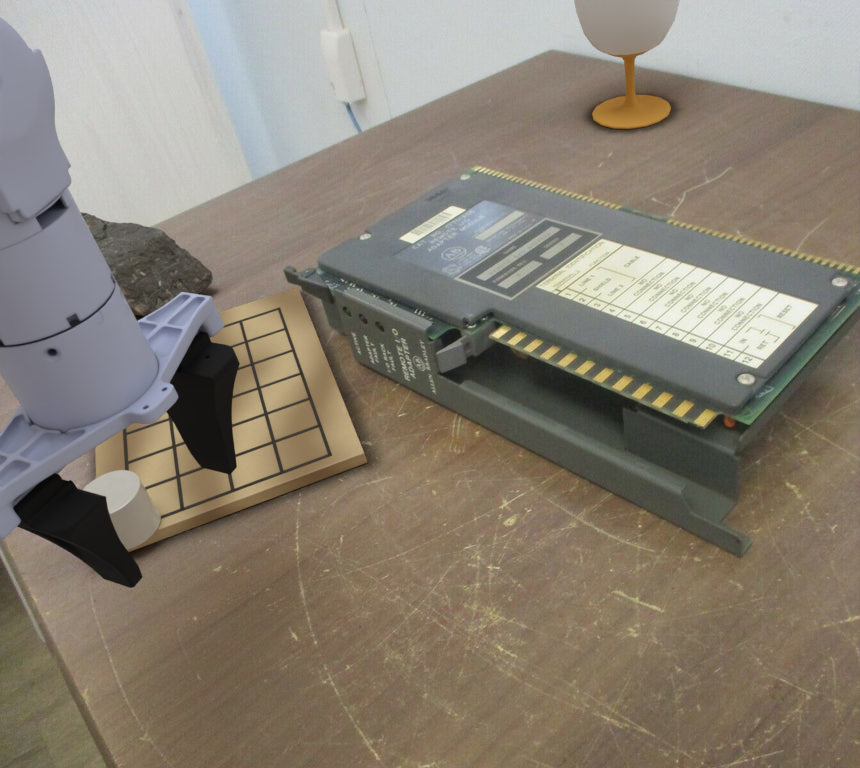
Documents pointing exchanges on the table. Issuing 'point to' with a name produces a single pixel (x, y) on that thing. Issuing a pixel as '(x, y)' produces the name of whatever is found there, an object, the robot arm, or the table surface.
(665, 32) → the cup
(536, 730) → the table surface
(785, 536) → the table surface
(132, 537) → the grey short cylinder
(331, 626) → the table surface
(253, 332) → the board
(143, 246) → the rock
